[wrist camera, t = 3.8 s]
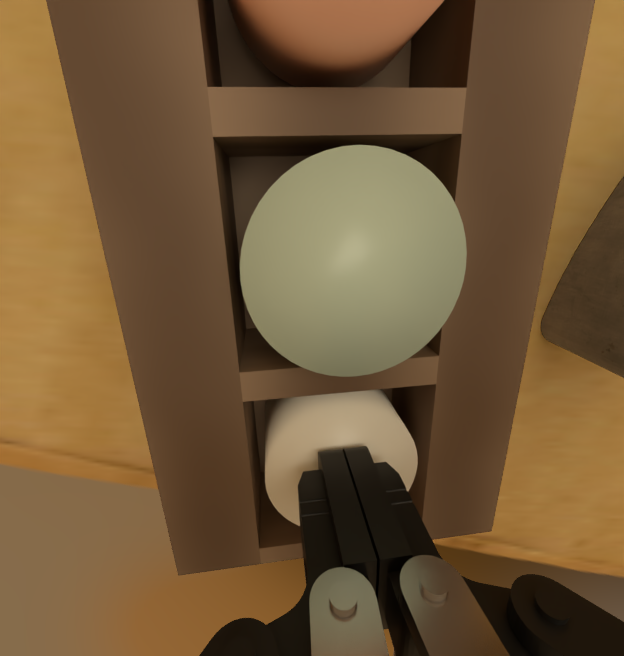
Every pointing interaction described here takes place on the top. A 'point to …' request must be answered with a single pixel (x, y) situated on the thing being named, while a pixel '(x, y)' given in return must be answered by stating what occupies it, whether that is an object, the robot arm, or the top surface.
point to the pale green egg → (353, 260)
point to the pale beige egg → (330, 439)
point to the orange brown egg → (329, 36)
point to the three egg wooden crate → (241, 201)
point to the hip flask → (593, 293)
